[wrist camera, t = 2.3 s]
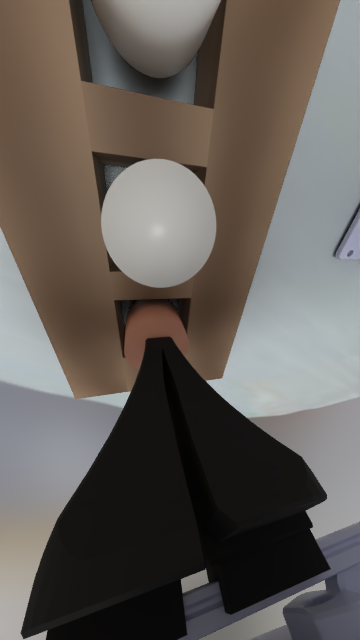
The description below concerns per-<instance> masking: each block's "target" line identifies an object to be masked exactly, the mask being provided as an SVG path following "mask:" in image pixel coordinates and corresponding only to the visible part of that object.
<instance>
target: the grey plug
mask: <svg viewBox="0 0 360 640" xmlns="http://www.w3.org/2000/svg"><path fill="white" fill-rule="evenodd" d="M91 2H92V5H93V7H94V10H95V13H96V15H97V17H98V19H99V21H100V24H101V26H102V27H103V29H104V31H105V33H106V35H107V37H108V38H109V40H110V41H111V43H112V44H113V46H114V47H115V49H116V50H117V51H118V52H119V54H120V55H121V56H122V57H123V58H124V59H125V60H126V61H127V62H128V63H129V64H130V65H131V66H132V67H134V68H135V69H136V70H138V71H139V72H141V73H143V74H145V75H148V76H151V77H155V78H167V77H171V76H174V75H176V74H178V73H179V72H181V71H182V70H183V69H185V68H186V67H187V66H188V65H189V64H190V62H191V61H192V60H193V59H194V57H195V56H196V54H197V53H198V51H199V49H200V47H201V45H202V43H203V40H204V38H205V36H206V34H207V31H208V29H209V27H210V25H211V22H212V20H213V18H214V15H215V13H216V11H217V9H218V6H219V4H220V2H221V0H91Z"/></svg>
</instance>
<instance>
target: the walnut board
mask: <svg viewBox="0 0 360 640" xmlns="http://www.w3.org/2000/svg"><path fill="white" fill-rule="evenodd" d="M339 3H340V0H221V2H220V4H219V6H218V9H217V11H216V13H215V15H214V18H213V20H212V22H211V25H210V27H209V29H208V31H207V34H206V36H205V38H204V40H203V43H202V45H201V47H200V49H199V51H198V59H197V72H196V85H195V98H194V105H192V104H187V103H182V102H178V101H173V100H168V99H164V98H159V97H154V96H150V95H145V94H140V93H136V92H131V91H126V90H122V89H117V88H113V87H108V86H103V85H99V84H94V83H93V81H92V73H91V66H90V58H89V50H88V42H87V34H86V27H85V19H84V11H83V3H82V0H0V227H1V229H2V231H3V234H4V236H5V238H6V241H7V243H8V245H9V248H10V250H11V252H12V254H13V257H14V259H15V261H16V264H17V266H18V268H19V270H20V273H21V275H22V277H23V280H24V282H25V284H26V286H27V289H28V291H29V293H30V296H31V298H32V300H33V303H34V305H35V307H36V309H37V312H38V314H39V316H40V319H41V321H42V323H43V325H44V328H45V330H46V332H47V335H48V337H49V339H50V342H51V344H52V346H53V348H54V351H55V353H56V355H57V358H58V360H59V362H60V364H61V367H62V369H63V371H64V374H65V376H66V378H67V380H68V383H69V385H70V387H71V390H72V392H73V394H74V397H75V399H79V398H86V397H93V396H100V395H107V394H114V393H121V392H128V391H132V388H133V386H134V383H135V380H136V378H137V375H138V372H139V369H138V368H135V367H134V366H132V365H131V364H130V363H129V362H128V361H127V359H126V357H125V353H124V345H125V331H124V324H123V316H122V308H121V300H142V299H172V298H179V306H178V314H179V316H180V319H181V321H182V324H183V326H184V329H185V331H186V334H187V336H188V339H189V349H188V352H187V354H186V356H185V358H186V359H187V360H188V361H189V363H190V364H191V365H192V367H193V368H194V369H195V370H196V371H197V372H198V373H199V375H200V376H201V377H202V378H203V379H204V380H205V381H206V380H213V379H220V378H222V376H223V373H224V370H225V367H226V364H227V360H228V357H229V354H230V351H231V348H232V344H233V341H234V338H235V335H236V332H237V328H238V325H239V322H240V319H241V316H242V312H243V309H244V306H245V303H246V300H247V297H248V293H249V290H250V287H251V284H252V281H253V277H254V274H255V271H256V268H257V265H258V261H259V258H260V255H261V252H262V249H263V245H264V242H265V239H266V236H267V233H268V229H269V226H270V223H271V220H272V217H273V213H274V210H275V207H276V204H277V201H278V197H279V194H280V191H281V188H282V185H283V181H284V178H285V175H286V172H287V169H288V165H289V162H290V159H291V156H292V153H293V150H294V146H295V143H296V140H297V137H298V134H299V130H300V127H301V124H302V121H303V118H304V114H305V111H306V108H307V105H308V102H309V98H310V95H311V92H312V89H313V86H314V82H315V79H316V76H317V73H318V70H319V66H320V63H321V60H322V57H323V54H324V50H325V47H326V44H327V41H328V38H329V34H330V31H331V28H332V25H333V22H334V18H335V15H336V12H337V9H338V6H339ZM148 159H166V160H170V161H174V162H176V163H178V164H181V165H183V166H184V167H186V168H187V169H189V170H190V171H191V172H193V173H194V174H195V175H196V176H197V177H198V178H199V179H200V181H201V182H202V183H203V185H204V186H205V188H206V189H207V191H208V193H209V195H210V197H211V200H212V202H213V205H214V210H215V215H216V237H215V241H214V245H213V248H212V251H211V253H210V256H209V258H208V259H207V261H206V263H205V264H204V265H203V267H202V268H201V269H200V270H199V271H198V272H197V273H196V274H195V275H194V276H193V277H192V278H190V279H189V280H187V281H185V282H183V283H181V284H178V285H176V286H172V287H165V288H156V287H150V286H146V285H143V284H140V283H138V282H136V281H134V280H133V279H131V278H129V277H128V276H127V275H125V274H124V273H123V272H122V271H121V270H120V269H119V268H118V266H117V265H116V264H115V263H114V261H113V260H112V258H111V257H110V255H109V253H108V251H107V248H106V246H105V243H104V239H103V235H102V228H101V213H102V207H103V203H104V200H105V196H106V194H107V191H106V183H105V175H104V167H103V165H111V166H119V167H127V168H128V167H129V166H131V165H133V164H135V163H137V162H140V161H144V160H148Z"/></svg>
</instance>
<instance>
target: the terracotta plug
mask: <svg viewBox="0 0 360 640" xmlns="http://www.w3.org/2000/svg"><path fill="white" fill-rule="evenodd" d="M159 337H171V338H172V339H173V340H174V342H175V344H176V345H177V347H178V348H179V350H180V351H181V352H182V354H183V355H184V356H186V354H187V352H188V349H189V339H188V336H187V334H186V331H185V329H184V326H183V324H182V321H181V319H180V316H179V314H178V311H177V309H176V307H175V306H174V305H173V304H172V303H171V302H170V301H169V300H167V299H142V300H138V301H137V302H135V303H134V304H133V305H132V306H131V307H130V309H129V310H128V312H127V316H126V328H125V345H124V353H125V357H126V359H127V361H128V362H129V363H130V364H131V365H132V366H134V367H135V368H138V369H140V366H141V363H142V359H143V355H144V351H145V340H146V339H147V338H159Z"/></svg>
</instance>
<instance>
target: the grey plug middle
mask: <svg viewBox="0 0 360 640" xmlns="http://www.w3.org/2000/svg"><path fill="white" fill-rule="evenodd" d="M101 228H102V235H103V239H104V243H105V246H106V248H107V251H108V253H109V255H110V257H111V258H112V260H113V261H114V263H115V264H116V265H117V266H118V268H119V269H120V270H121V271H122V272H123V273H124V274H125V275H127V276H128V277H129V278H131V279H133V280H134V281H136V282H138V283H140V284H143V285H146V286H150V287H156V288H165V287H172V286H176V285H178V284H181V283H183V282H185V281H187V280H189V279H190V278H192V277H193V276H194V275H195V274H196V273H197V272H198V271H199V270H200V269H201V268H202V267H203V265H204V264H205V263H206V261H207V259H208V258H209V256H210V253H211V251H212V248H213V245H214V241H215V237H216V215H215V210H214V205H213V202H212V200H211V197H210V195H209V193H208V191H207V189H206V188H205V186H204V185H203V183H202V182H201V181H200V179H199V178H198V177H197V176H196V175H195V174H194V173H193V172H191V171H190V170H189V169H187V168H186V167H184V166H183V165H181V164H178V163H176V162H174V161H170V160H166V159H148V160H144V161H140V162H137V163H135V164H133V165H131V166H129V167H128V168H127V169H125V170H124V171H123V172H121V173H120V175H119V176H118V177H117V178H116V179H115V180H114V182H113V183H112V185H111V186H110V188H109V190H108V192H107V194H106V196H105V200H104V203H103V207H102V213H101Z"/></svg>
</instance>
